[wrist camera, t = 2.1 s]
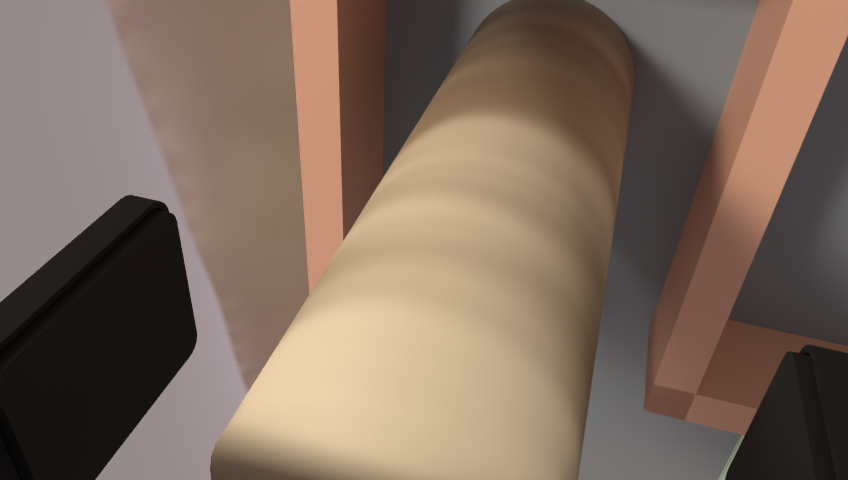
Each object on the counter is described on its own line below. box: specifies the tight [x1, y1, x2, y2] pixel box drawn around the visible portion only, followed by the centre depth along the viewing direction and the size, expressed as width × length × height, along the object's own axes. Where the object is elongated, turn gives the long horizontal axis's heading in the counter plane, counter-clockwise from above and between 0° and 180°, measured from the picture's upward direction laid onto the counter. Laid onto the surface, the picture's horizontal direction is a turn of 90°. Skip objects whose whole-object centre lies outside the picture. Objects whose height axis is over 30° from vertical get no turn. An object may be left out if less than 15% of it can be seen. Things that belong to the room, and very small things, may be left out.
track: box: [290, 0, 848, 480], centre depth 19 cm, size 23×20×4 cm
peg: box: [210, 0, 635, 480], centre depth 12 cm, size 4×4×12 cm
